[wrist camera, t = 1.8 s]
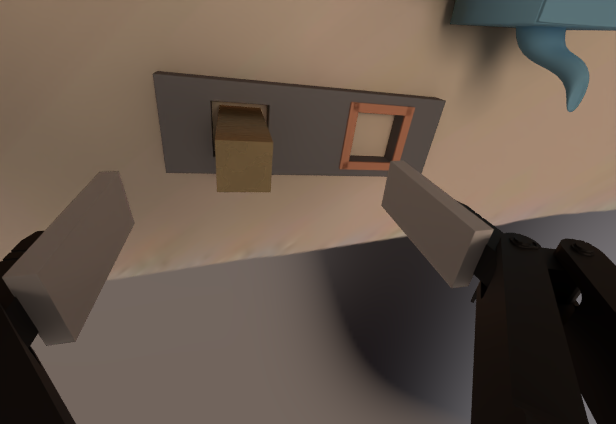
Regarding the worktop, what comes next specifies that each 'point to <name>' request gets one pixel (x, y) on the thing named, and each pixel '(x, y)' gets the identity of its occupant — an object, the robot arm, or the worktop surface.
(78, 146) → the worktop surface
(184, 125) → the dark grey flat board
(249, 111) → the wooden peg
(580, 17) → the teakettle
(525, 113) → the worktop surface
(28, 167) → the worktop surface
